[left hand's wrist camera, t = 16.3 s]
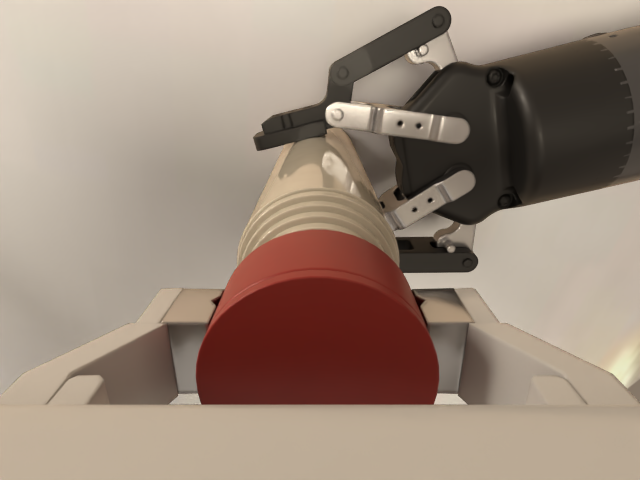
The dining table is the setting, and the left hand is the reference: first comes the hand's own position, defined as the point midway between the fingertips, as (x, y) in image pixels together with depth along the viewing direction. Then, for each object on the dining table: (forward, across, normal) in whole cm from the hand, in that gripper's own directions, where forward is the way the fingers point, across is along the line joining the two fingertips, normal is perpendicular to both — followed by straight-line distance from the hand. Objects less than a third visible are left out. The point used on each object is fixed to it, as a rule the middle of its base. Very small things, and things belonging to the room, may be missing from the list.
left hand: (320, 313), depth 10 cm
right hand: (+13, -3, -1) cm, 14 cm away
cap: (-2, 0, 0) cm, 2 cm away
